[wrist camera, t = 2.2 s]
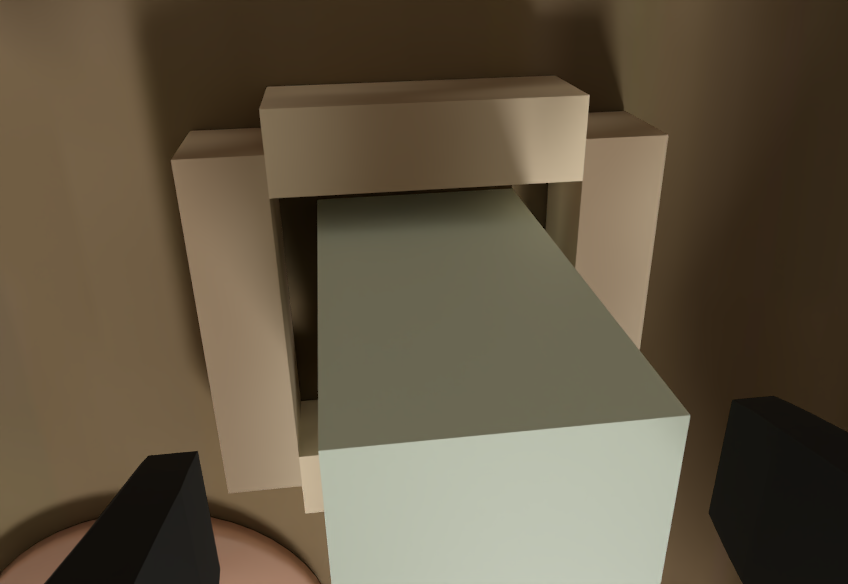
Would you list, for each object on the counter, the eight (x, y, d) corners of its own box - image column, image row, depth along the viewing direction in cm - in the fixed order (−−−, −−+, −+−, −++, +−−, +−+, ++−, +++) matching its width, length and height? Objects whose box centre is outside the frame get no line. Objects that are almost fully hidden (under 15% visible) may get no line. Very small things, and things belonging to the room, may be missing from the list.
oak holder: (629, 72, 14) (674, 91, 12) (592, 426, 18) (622, 479, 16) (183, 90, 13) (162, 113, 11) (242, 459, 17) (233, 520, 15)
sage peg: (511, 188, 15) (691, 415, 8) (505, 354, 17) (646, 662, 10) (317, 199, 15) (319, 450, 7) (331, 369, 16) (343, 704, 9)
